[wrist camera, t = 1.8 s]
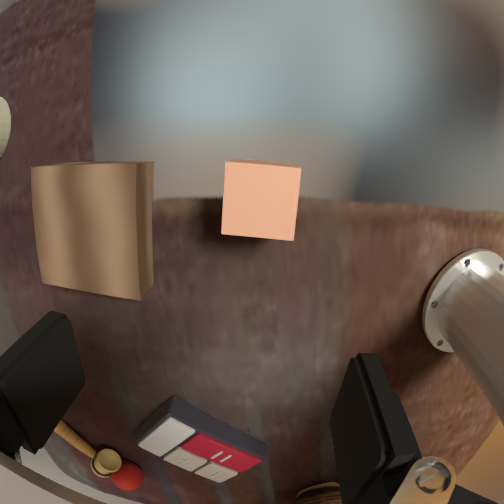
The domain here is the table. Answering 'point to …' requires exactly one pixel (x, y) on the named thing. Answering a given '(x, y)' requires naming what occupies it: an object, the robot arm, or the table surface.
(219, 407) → the table surface
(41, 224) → the base
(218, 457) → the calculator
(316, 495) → the ceramic jug
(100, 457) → the kendama
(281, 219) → the block
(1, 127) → the reusable coffee cup
